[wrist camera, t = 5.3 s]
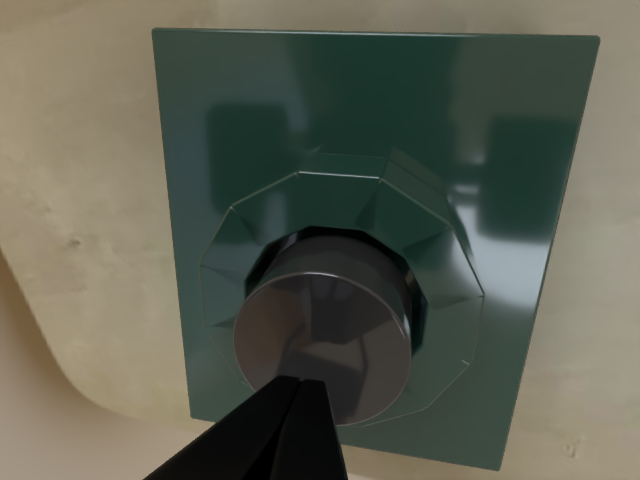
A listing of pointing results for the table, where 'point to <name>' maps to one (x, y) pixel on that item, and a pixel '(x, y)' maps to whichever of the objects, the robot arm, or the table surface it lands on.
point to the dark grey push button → (330, 324)
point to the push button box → (375, 200)
